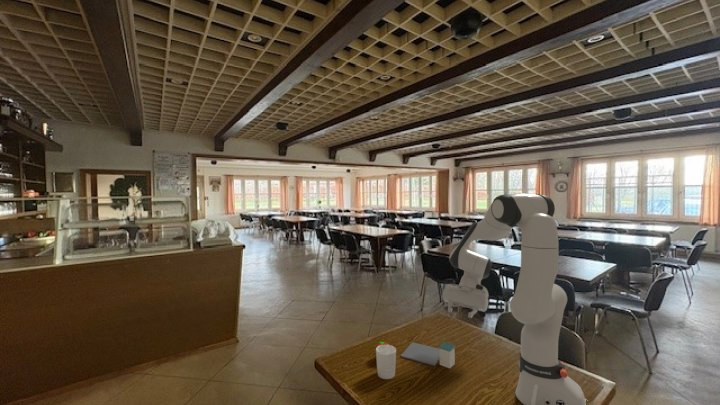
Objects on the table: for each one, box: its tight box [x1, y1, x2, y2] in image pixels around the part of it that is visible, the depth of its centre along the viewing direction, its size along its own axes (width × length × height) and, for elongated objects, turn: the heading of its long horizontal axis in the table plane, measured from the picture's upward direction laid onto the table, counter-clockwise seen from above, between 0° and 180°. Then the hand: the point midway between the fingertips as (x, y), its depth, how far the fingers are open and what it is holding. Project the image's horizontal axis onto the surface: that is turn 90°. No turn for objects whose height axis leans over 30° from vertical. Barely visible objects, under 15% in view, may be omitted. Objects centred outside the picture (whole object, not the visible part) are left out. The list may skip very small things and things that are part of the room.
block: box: [439, 341, 456, 369], centre depth 130 cm, size 4×4×8 cm
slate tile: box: [400, 341, 440, 367], centre depth 139 cm, size 15×14×1 cm
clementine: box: [376, 341, 390, 348], centre depth 135 cm, size 8×7×7 cm
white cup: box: [375, 344, 397, 380], centre depth 123 cm, size 8×8×10 cm
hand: (459, 314), depth 139 cm, fingers open, 8 cm apart
